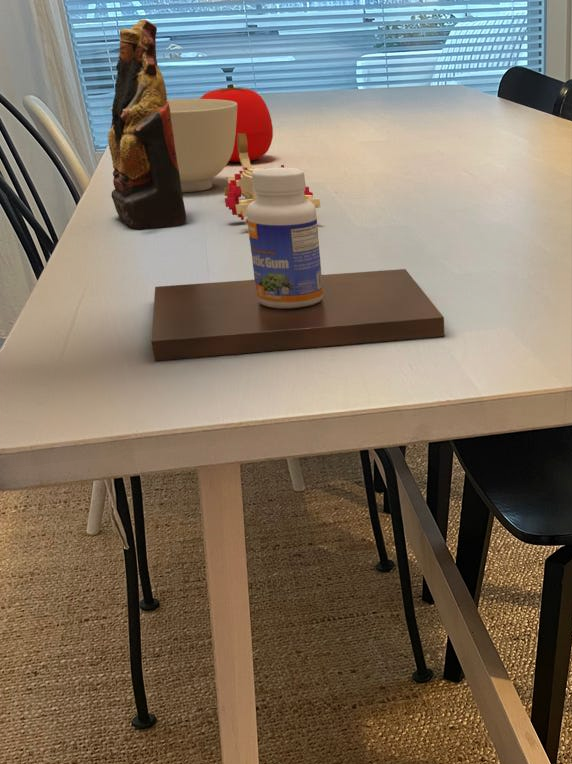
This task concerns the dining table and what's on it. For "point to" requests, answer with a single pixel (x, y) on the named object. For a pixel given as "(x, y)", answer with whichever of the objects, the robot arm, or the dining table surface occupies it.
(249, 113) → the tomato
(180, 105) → the bowl
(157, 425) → the dining table surface
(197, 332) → the board
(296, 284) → the pill bottle
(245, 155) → the axolotl toy
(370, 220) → the dining table surface
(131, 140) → the statue
